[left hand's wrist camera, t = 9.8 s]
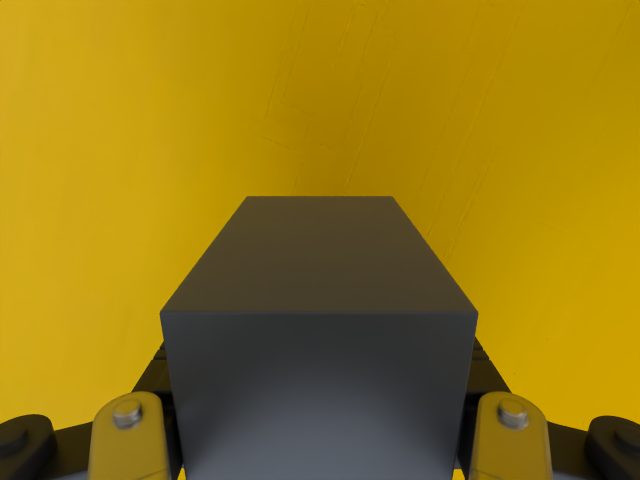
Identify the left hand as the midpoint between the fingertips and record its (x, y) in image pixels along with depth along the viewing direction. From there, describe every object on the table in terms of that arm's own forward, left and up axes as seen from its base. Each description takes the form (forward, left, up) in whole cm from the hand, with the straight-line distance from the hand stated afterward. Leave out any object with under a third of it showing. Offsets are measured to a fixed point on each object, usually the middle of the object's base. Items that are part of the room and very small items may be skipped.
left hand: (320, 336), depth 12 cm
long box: (+9, +5, -5) cm, 12 cm away
